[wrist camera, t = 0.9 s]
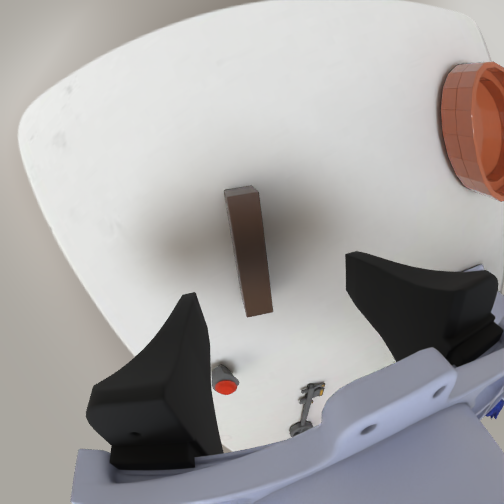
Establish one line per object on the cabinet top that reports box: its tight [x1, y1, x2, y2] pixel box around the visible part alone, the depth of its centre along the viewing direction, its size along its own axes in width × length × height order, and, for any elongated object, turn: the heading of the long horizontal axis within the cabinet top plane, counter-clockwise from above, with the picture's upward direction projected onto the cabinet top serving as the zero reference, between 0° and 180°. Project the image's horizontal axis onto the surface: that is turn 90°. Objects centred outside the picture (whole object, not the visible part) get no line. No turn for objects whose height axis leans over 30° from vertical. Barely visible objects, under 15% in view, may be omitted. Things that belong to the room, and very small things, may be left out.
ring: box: [212, 365, 239, 395], centre depth 24 cm, size 2×3×3 cm
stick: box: [224, 186, 273, 317], centre depth 20 cm, size 9×2×2 cm, turn 8°
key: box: [290, 383, 325, 437], centre depth 30 cm, size 12×1×3 cm
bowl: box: [441, 62, 504, 202], centre depth 18 cm, size 14×14×4 cm
